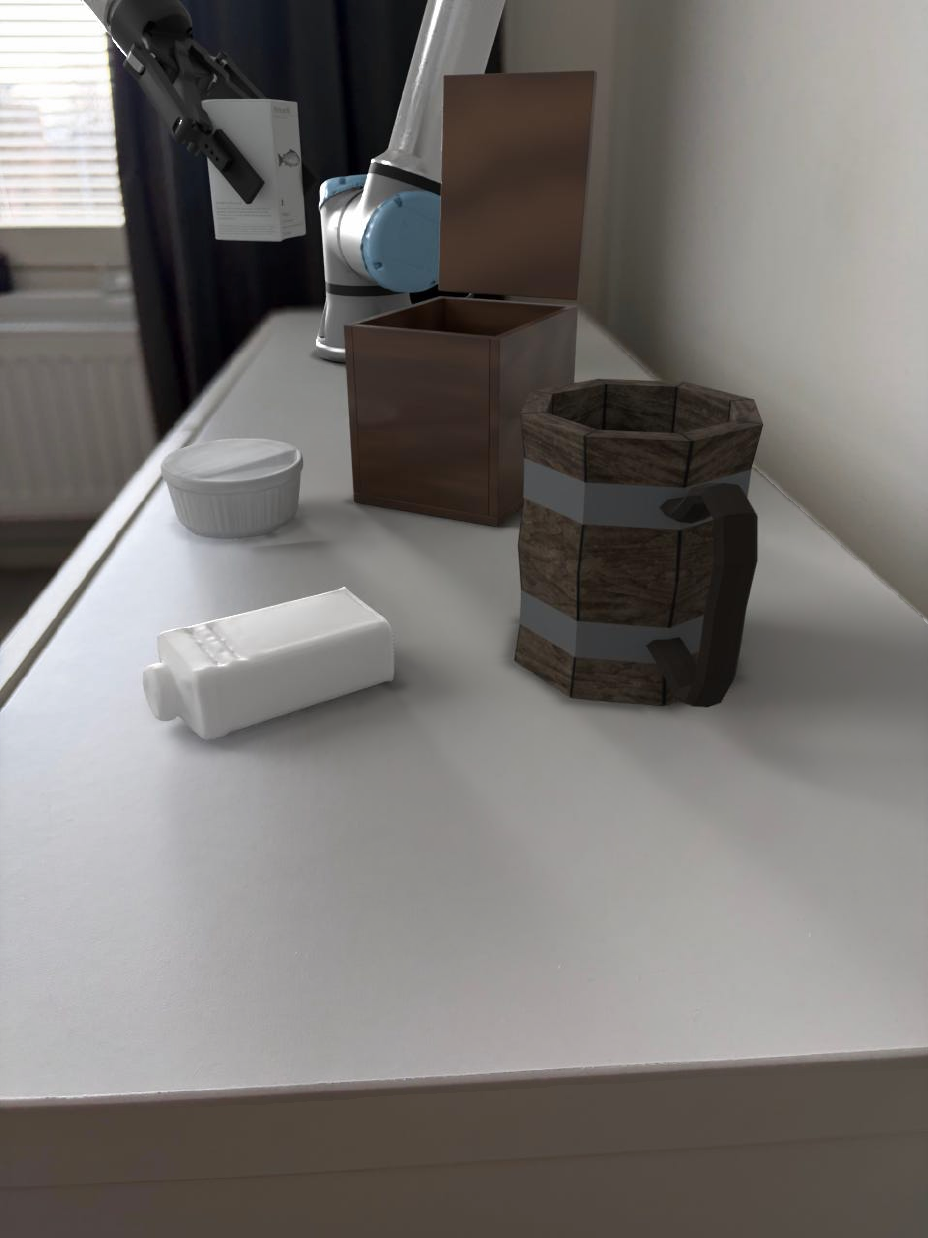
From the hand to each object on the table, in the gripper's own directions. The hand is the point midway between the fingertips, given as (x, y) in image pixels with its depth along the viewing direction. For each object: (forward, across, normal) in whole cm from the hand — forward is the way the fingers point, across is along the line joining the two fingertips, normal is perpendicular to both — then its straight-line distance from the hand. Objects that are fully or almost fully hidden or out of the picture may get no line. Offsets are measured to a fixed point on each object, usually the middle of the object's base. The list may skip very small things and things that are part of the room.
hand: (284, 190), depth 96 cm
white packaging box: (+1, 0, -6) cm, 6 cm away
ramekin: (+26, +28, -7) cm, 39 cm away
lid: (+18, +3, +19) cm, 27 cm away
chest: (+35, +12, +2) cm, 37 cm away
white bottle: (+40, +49, +7) cm, 63 cm away
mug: (+52, +38, +19) cm, 67 cm away
